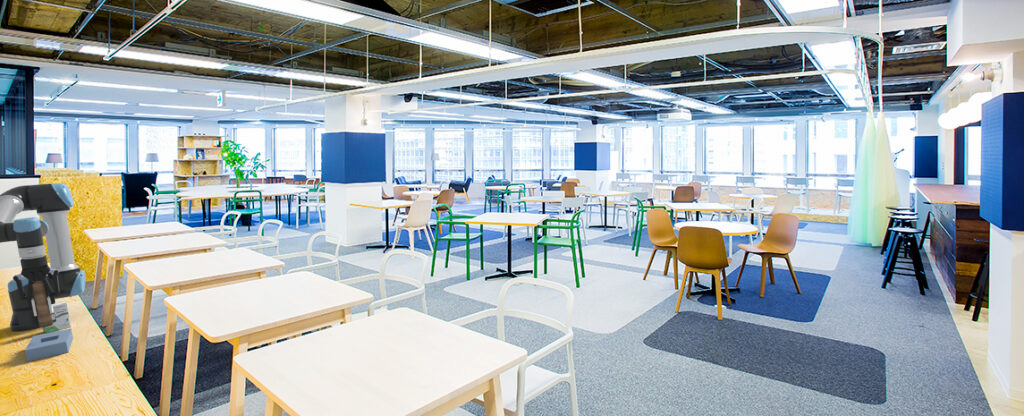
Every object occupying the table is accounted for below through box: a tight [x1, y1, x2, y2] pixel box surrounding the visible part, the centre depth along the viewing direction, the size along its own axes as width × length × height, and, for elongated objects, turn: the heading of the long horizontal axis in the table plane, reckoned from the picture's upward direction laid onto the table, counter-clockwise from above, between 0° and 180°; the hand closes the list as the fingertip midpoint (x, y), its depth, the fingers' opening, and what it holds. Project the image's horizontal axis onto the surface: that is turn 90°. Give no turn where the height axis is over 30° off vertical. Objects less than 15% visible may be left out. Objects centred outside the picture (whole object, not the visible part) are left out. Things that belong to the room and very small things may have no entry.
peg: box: [32, 281, 53, 329], centre depth 199 cm, size 4×4×18 cm
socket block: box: [24, 328, 74, 362], centre depth 202 cm, size 18×12×4 cm, turn 37°
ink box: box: [42, 300, 72, 334], centre depth 224 cm, size 9×5×12 cm, turn 147°
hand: (44, 313), depth 200 cm, fingers closed on peg, 4 cm apart
